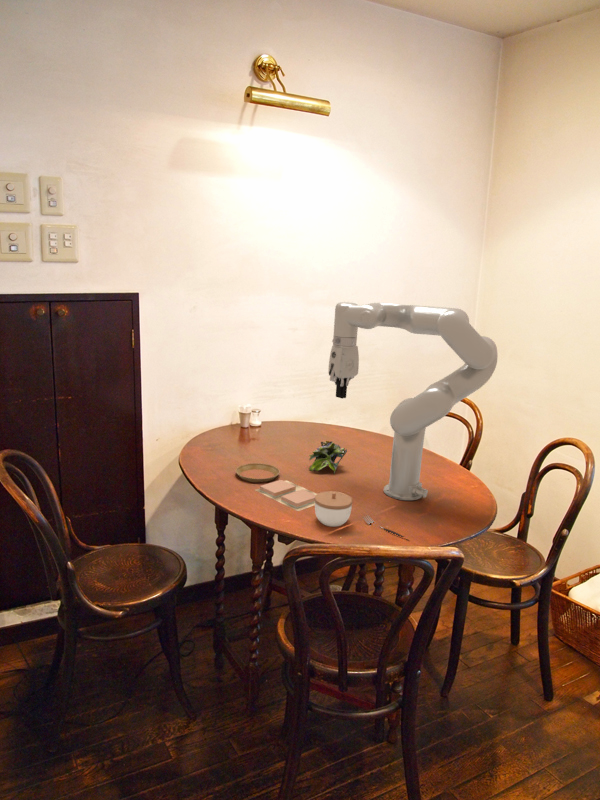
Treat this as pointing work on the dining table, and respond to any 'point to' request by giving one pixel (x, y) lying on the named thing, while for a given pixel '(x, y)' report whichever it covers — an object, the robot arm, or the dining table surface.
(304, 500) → the tile
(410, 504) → the dining table surface
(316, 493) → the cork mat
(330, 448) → the passion flower
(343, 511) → the lidded jar
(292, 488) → the tile
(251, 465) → the plant saucer
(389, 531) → the fork
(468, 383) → the robot arm
